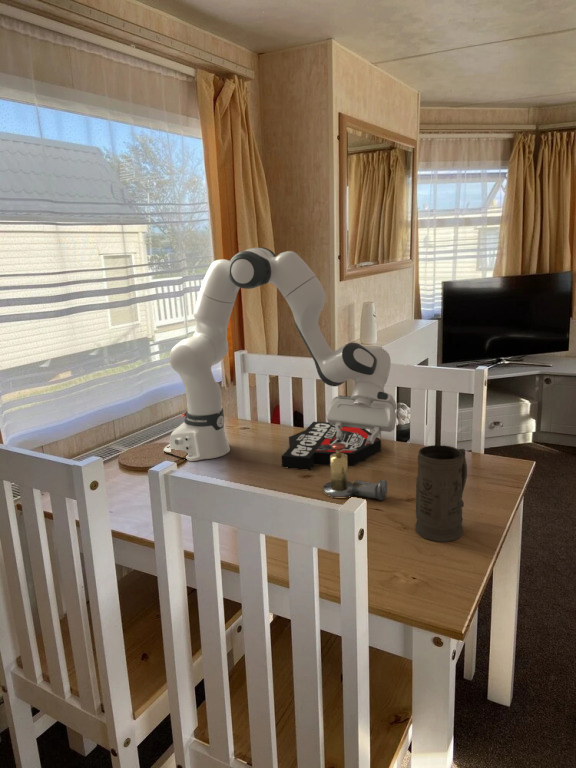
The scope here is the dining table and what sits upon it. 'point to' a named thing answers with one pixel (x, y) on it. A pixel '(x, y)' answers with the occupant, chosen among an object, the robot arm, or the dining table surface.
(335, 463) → the valve
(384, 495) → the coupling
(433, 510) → the beer stein
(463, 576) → the dining table surface
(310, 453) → the decorative sign
